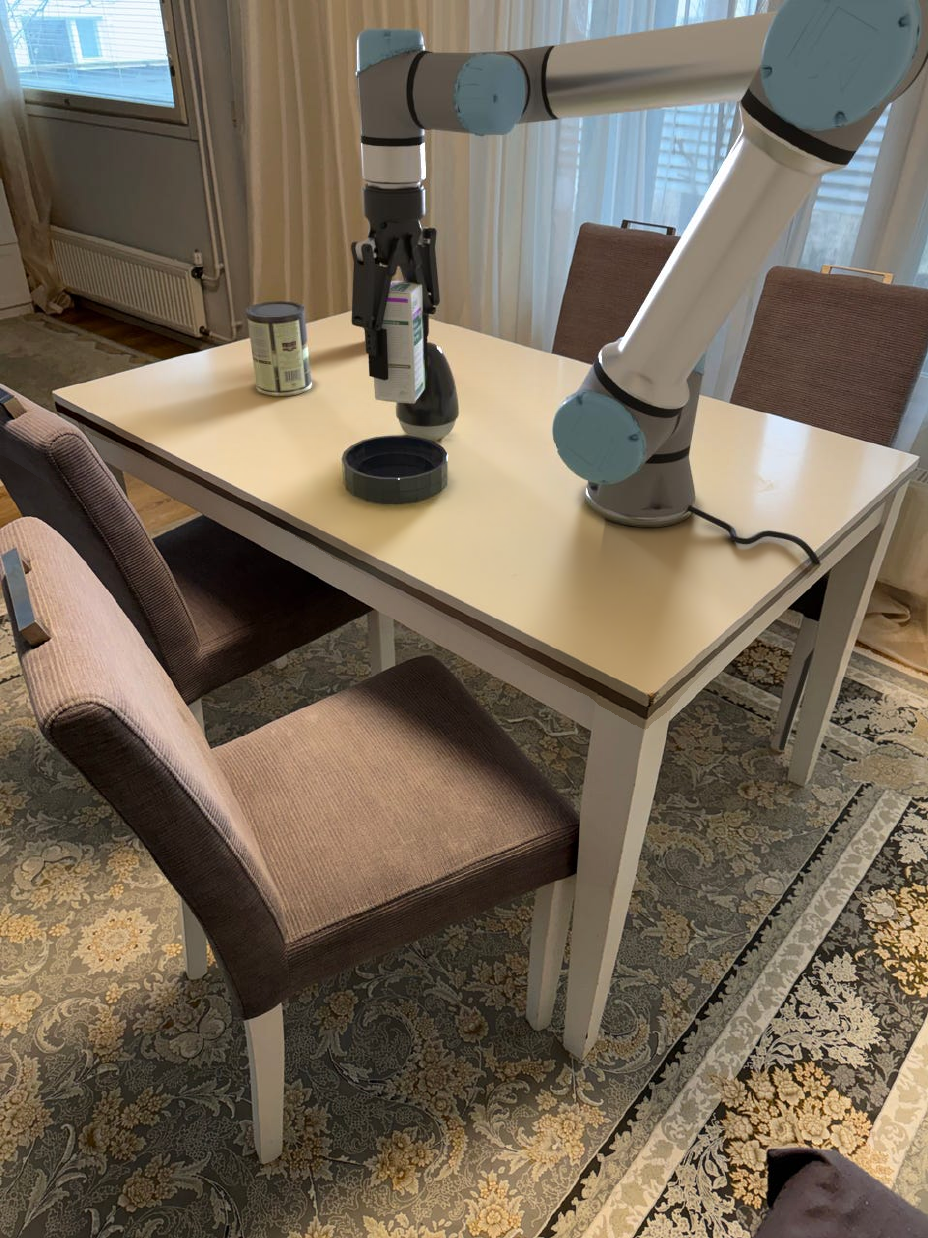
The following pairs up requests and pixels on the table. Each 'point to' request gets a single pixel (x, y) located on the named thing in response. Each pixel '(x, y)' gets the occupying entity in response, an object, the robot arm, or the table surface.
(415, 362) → the syrup box
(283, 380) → the coffee can
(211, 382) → the table surface
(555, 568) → the table surface
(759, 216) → the robot arm
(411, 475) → the bowl
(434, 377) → the pump dispenser
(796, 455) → the table surface
